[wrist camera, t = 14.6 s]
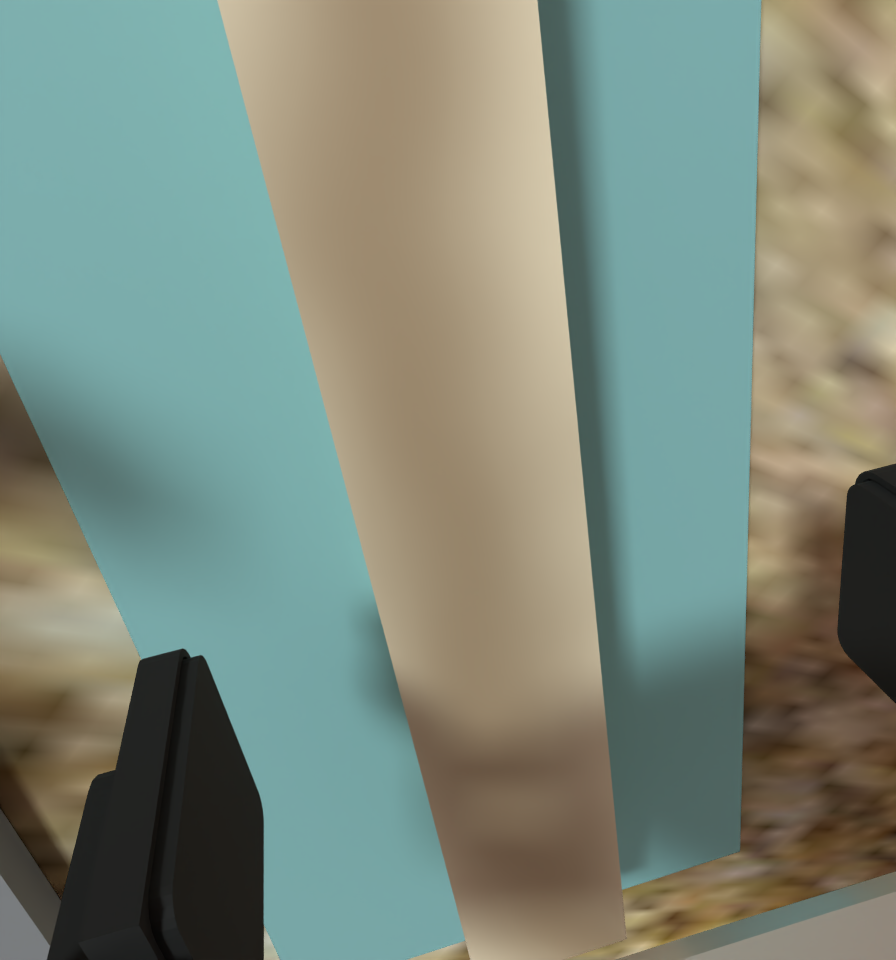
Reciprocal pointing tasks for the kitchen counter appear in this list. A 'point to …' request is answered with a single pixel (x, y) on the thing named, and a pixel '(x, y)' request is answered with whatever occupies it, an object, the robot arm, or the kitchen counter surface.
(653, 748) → the mat
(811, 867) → the kitchen counter surface
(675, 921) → the kitchen counter surface
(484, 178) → the rail
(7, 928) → the rack
